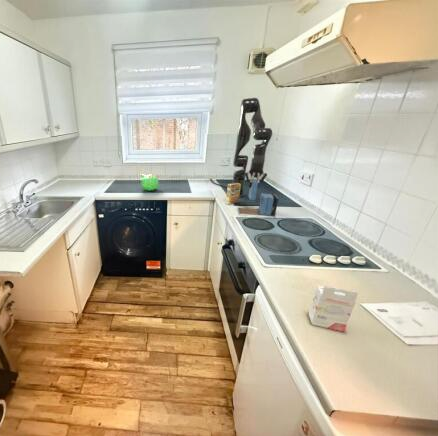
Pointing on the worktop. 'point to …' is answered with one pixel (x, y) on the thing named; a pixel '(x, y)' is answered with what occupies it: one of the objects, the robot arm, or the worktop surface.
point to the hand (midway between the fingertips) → (253, 187)
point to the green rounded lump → (149, 182)
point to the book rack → (255, 211)
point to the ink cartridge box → (332, 307)
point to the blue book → (253, 189)
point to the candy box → (233, 193)
